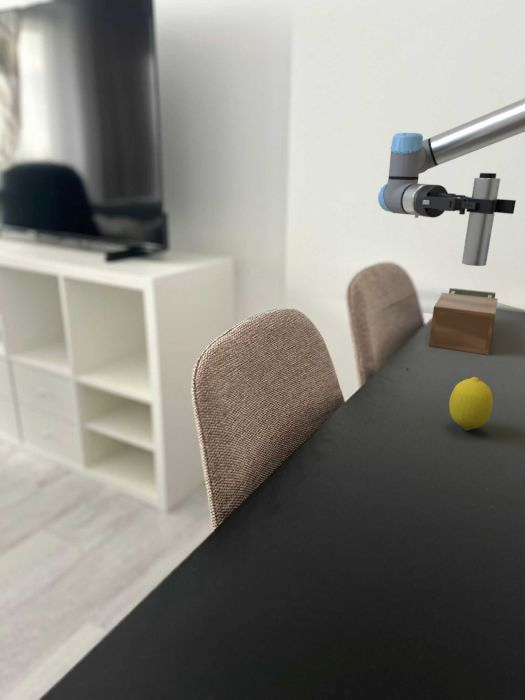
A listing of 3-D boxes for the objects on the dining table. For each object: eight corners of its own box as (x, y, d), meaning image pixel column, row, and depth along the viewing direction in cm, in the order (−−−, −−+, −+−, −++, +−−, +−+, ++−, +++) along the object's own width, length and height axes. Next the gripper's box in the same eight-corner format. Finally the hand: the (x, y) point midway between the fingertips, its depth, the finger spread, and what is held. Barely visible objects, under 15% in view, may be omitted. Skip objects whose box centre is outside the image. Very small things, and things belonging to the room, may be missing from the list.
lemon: (438, 429, 72) (446, 376, 69) (456, 417, 76) (464, 367, 73) (477, 444, 68) (487, 389, 66) (494, 430, 72) (504, 378, 69)
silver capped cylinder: (473, 261, 116) (487, 173, 110) (491, 265, 112) (506, 173, 106) (456, 262, 114) (470, 172, 108) (473, 266, 110) (488, 173, 104)
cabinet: (437, 328, 120) (442, 292, 117) (491, 335, 115) (497, 298, 112) (428, 346, 107) (433, 306, 104) (488, 355, 103) (495, 313, 100)
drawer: (446, 313, 130) (450, 286, 128) (491, 318, 126) (495, 291, 124) (439, 327, 117) (443, 298, 115) (488, 334, 113) (493, 304, 111)
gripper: (452, 216, 129) (531, 225, 109) (394, 216, 122) (466, 226, 102) (457, 184, 127) (538, 188, 107) (397, 183, 120) (472, 187, 100)
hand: (502, 207), depth 105 cm, fingers closed on silver capped cylinder, 5 cm apart
